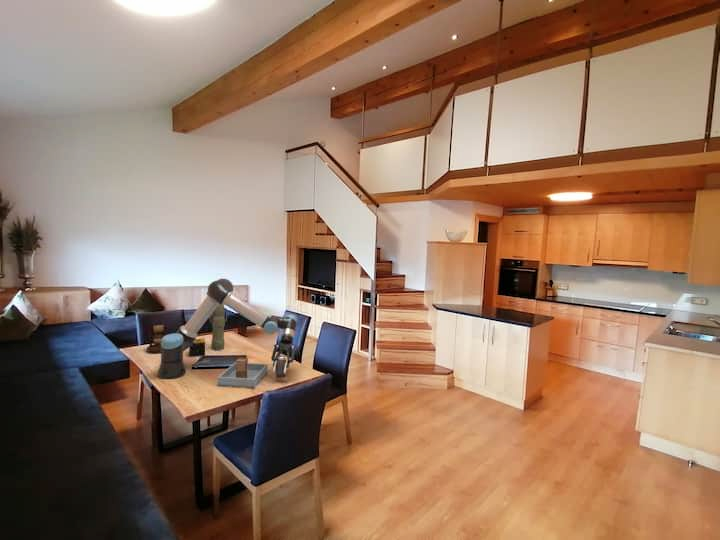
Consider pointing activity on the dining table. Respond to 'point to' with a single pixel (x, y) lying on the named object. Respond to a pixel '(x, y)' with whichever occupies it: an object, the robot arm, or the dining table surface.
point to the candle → (197, 348)
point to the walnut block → (241, 368)
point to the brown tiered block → (156, 337)
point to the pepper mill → (280, 367)
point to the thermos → (218, 327)
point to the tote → (253, 378)
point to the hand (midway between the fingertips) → (279, 372)
